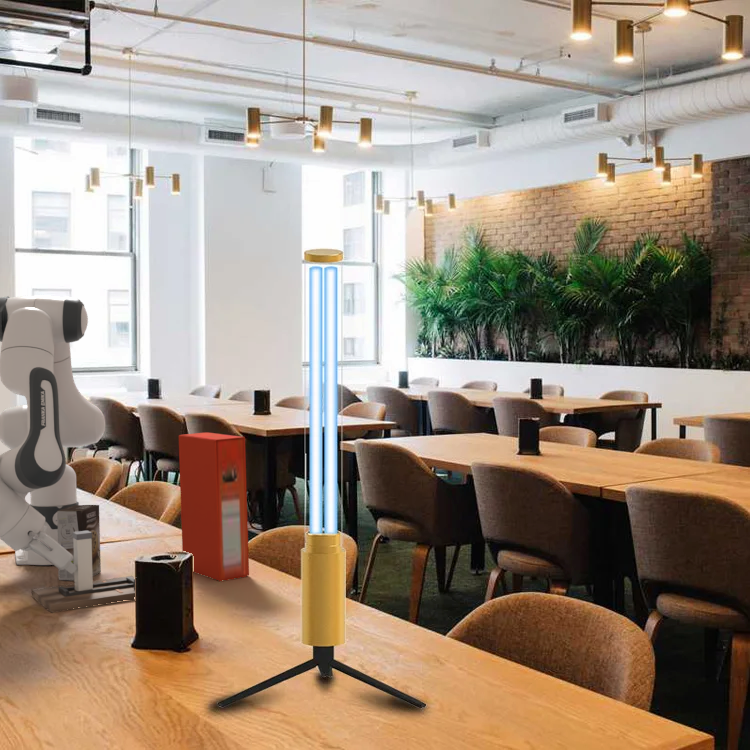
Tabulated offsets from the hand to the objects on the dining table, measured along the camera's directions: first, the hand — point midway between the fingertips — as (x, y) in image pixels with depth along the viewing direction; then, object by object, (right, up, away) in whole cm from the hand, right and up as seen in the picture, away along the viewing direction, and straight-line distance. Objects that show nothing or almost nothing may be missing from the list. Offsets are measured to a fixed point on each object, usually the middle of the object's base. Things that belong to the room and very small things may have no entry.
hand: (72, 569), depth 221 cm
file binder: (+26, -5, +23) cm, 35 cm away
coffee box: (-5, -6, +22) cm, 23 cm away
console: (+4, -6, +2) cm, 8 cm away
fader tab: (+2, -4, +1) cm, 5 cm away
